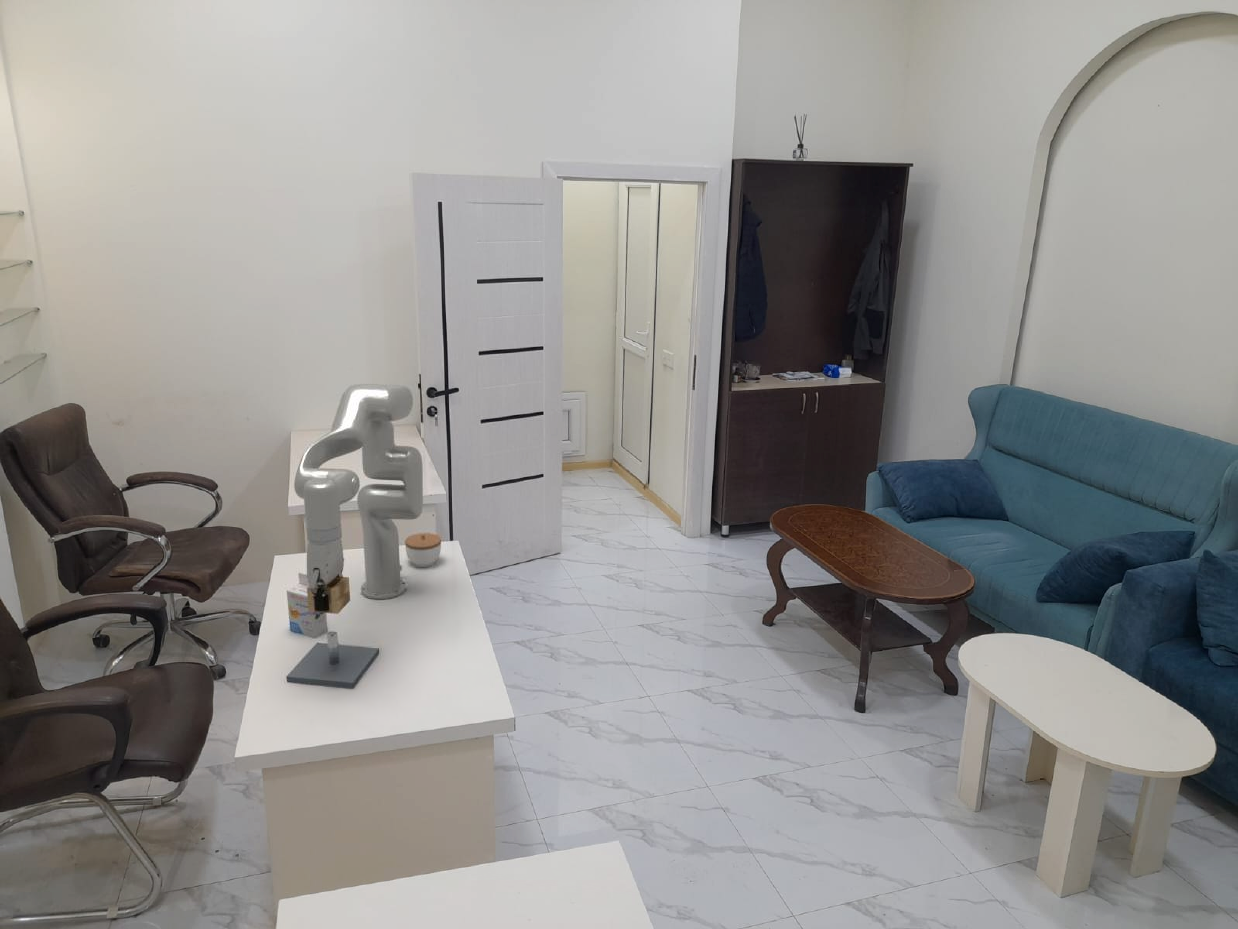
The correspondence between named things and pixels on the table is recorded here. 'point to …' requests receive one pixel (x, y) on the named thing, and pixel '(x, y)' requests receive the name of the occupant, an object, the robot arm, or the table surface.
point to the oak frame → (333, 595)
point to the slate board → (333, 666)
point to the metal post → (333, 647)
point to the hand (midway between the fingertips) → (329, 602)
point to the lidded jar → (423, 549)
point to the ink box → (304, 611)
